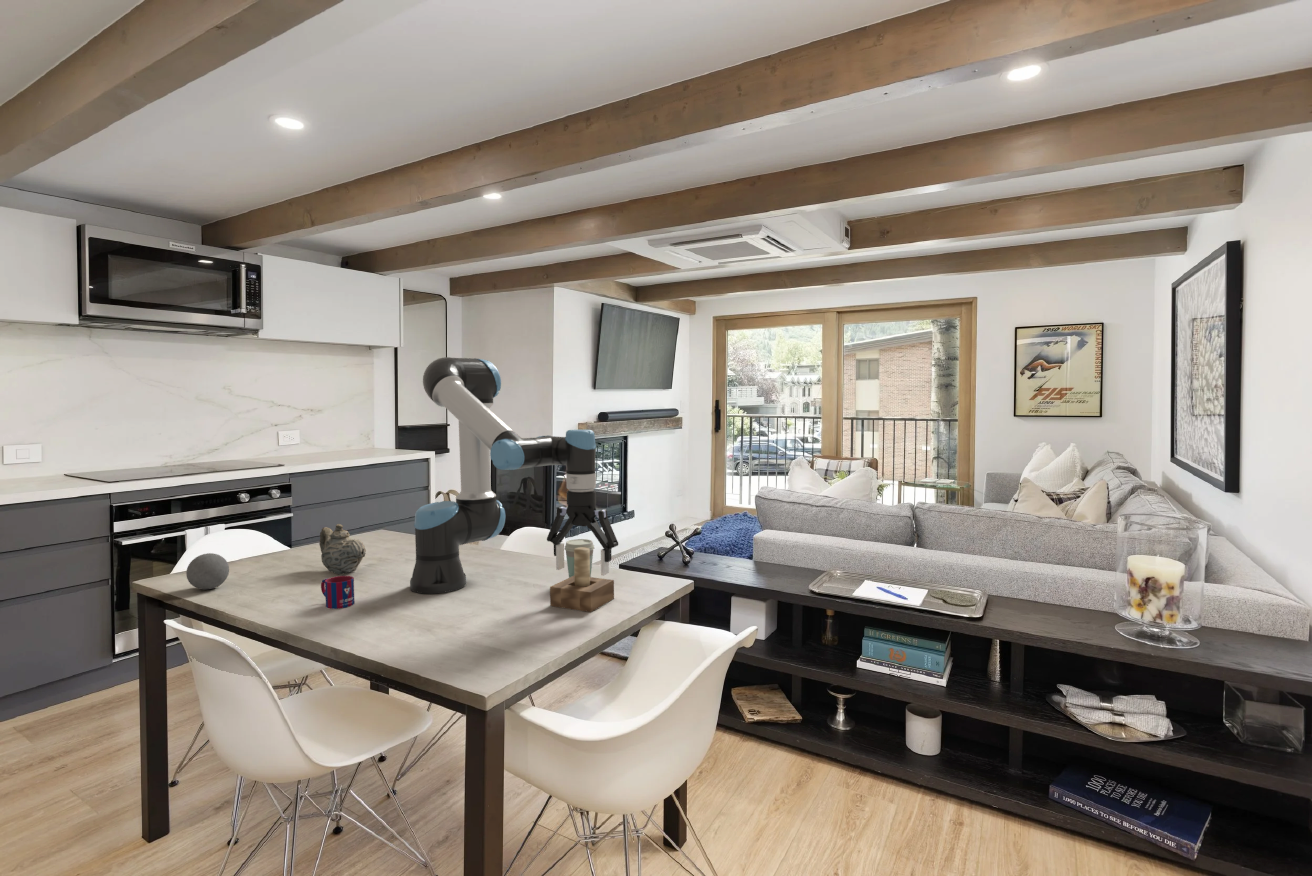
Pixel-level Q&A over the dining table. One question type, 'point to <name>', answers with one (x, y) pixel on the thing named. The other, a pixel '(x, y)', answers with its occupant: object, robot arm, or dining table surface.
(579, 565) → the peg
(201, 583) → the decorative ball
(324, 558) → the teapot
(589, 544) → the coffee cup
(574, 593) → the socket
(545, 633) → the dining table surface
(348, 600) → the cup
